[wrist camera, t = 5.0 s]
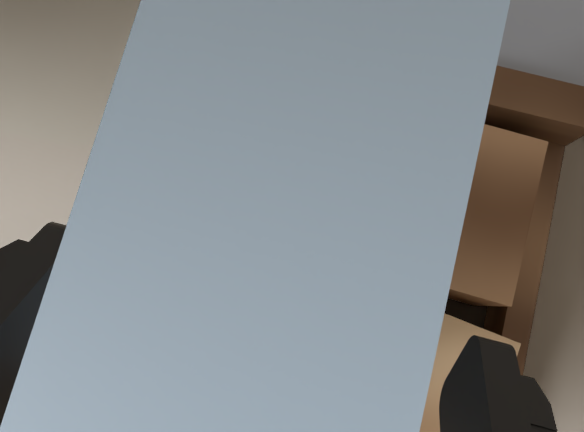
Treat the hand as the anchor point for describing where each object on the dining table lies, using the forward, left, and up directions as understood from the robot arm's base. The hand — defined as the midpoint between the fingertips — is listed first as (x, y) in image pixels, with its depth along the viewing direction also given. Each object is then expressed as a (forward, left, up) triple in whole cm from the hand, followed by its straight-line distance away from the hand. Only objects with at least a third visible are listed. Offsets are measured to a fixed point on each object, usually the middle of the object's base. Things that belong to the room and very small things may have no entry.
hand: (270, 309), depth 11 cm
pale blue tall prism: (0, +1, -11) cm, 11 cm away
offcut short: (+4, +7, -11) cm, 13 cm away
